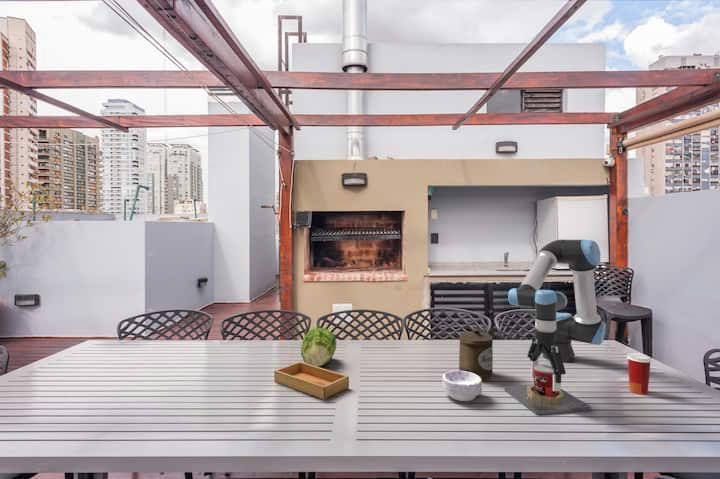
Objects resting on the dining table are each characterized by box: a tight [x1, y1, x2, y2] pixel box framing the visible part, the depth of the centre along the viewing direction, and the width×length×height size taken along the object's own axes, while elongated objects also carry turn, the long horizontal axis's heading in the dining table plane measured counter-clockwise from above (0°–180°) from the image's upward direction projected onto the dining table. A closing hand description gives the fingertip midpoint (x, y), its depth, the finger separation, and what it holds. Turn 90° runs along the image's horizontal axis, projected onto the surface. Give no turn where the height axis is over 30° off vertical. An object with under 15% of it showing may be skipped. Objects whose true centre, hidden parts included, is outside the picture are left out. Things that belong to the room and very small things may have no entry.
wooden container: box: [458, 326, 494, 382], centre depth 176 cm, size 15×15×22 cm
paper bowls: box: [442, 370, 483, 402], centre depth 153 cm, size 15×15×8 cm
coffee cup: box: [626, 352, 652, 396], centre depth 158 cm, size 8×8×15 cm
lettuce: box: [300, 327, 337, 367], centre depth 191 cm, size 18×23×19 cm
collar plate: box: [503, 384, 592, 416], centre depth 150 cm, size 22×22×4 cm
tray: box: [273, 361, 350, 400], centre depth 165 cm, size 31×15×6 cm, turn 51°
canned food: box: [533, 364, 556, 397], centre depth 150 cm, size 8×8×11 cm
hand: (545, 383), depth 150 cm, fingers open, 13 cm apart
